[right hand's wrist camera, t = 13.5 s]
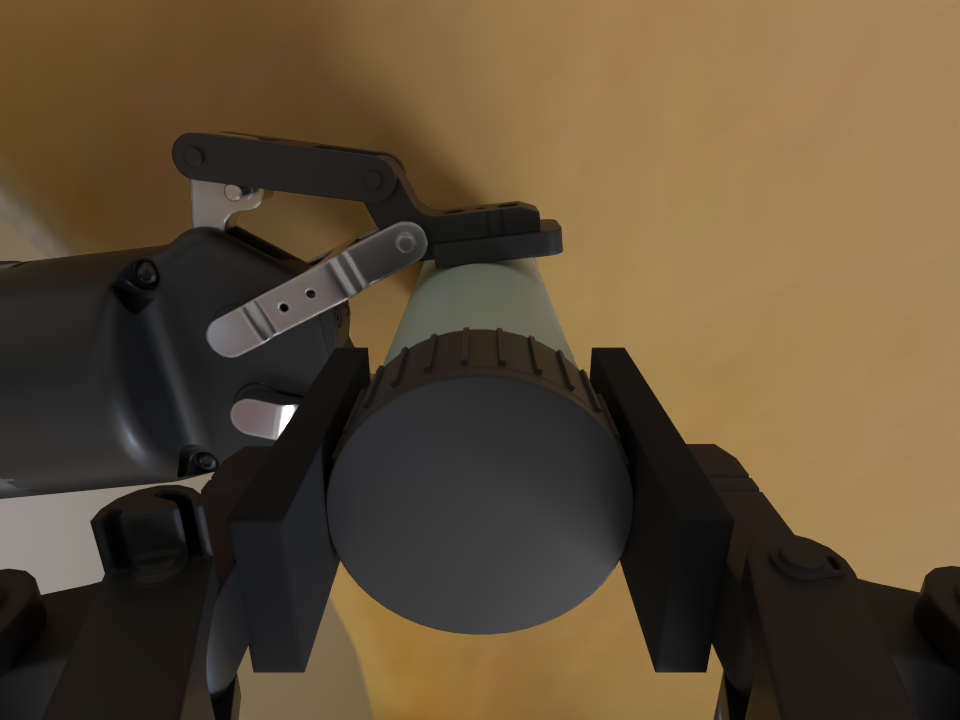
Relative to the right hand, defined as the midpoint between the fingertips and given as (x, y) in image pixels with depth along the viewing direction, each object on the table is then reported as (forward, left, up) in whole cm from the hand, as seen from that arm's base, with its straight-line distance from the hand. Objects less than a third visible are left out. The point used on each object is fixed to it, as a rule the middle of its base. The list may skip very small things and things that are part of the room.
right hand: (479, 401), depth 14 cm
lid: (0, 0, +4) cm, 4 cm away
